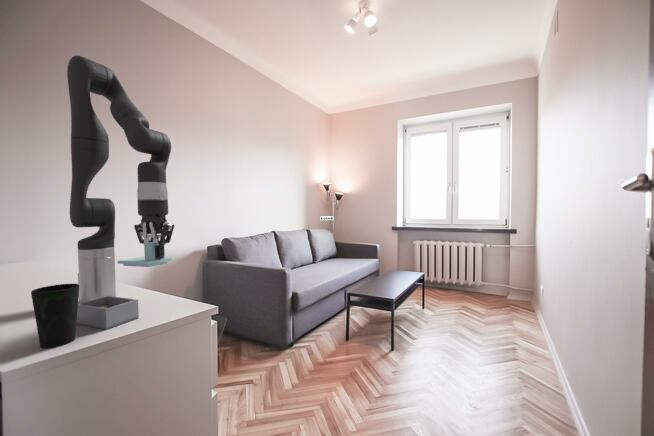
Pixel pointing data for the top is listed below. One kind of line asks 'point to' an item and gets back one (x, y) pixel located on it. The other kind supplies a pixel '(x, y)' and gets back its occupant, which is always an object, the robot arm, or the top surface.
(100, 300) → the tub
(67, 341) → the cup
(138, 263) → the lid
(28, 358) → the top surface
